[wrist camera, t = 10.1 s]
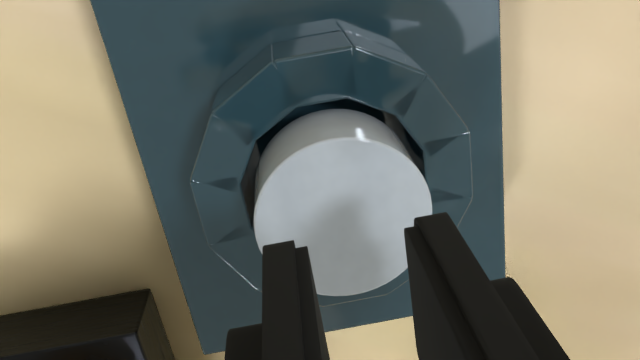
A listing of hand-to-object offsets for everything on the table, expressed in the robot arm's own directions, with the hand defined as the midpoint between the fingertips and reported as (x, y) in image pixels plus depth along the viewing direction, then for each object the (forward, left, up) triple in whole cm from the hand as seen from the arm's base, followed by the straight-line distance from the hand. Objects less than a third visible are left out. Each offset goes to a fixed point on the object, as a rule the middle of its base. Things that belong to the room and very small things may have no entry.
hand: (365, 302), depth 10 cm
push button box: (0, 0, -10) cm, 10 cm away
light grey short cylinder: (0, 0, -5) cm, 5 cm away
